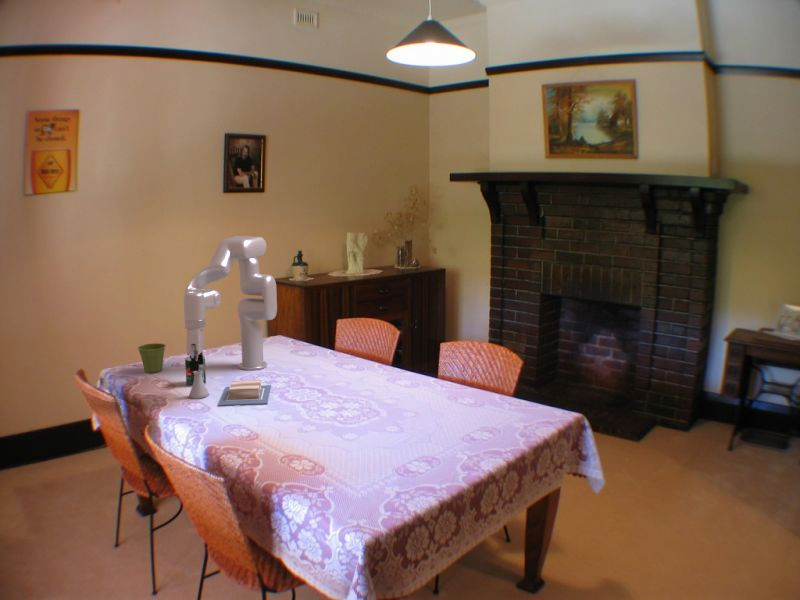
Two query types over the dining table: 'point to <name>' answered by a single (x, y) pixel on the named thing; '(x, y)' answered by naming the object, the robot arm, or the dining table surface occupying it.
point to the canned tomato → (190, 373)
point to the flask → (198, 387)
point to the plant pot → (152, 356)
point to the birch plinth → (245, 389)
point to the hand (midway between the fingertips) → (196, 367)
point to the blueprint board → (262, 399)
